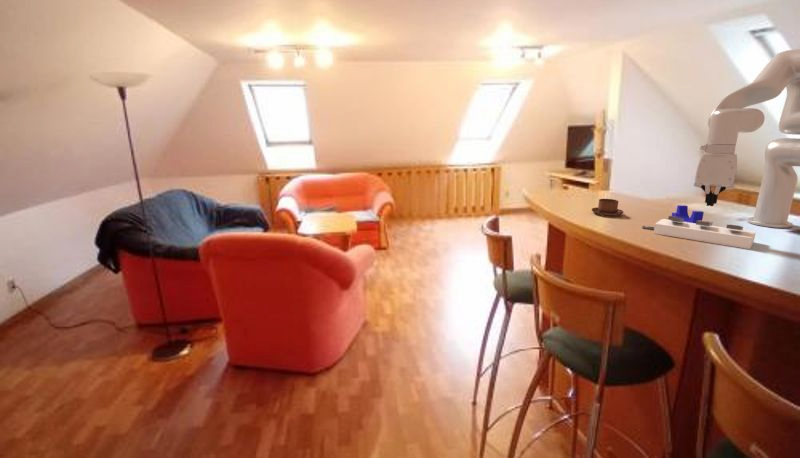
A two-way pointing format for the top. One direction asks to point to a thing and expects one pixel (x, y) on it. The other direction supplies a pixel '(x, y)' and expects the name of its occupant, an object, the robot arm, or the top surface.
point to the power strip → (704, 233)
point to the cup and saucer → (607, 208)
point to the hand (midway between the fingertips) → (710, 205)
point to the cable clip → (683, 213)
